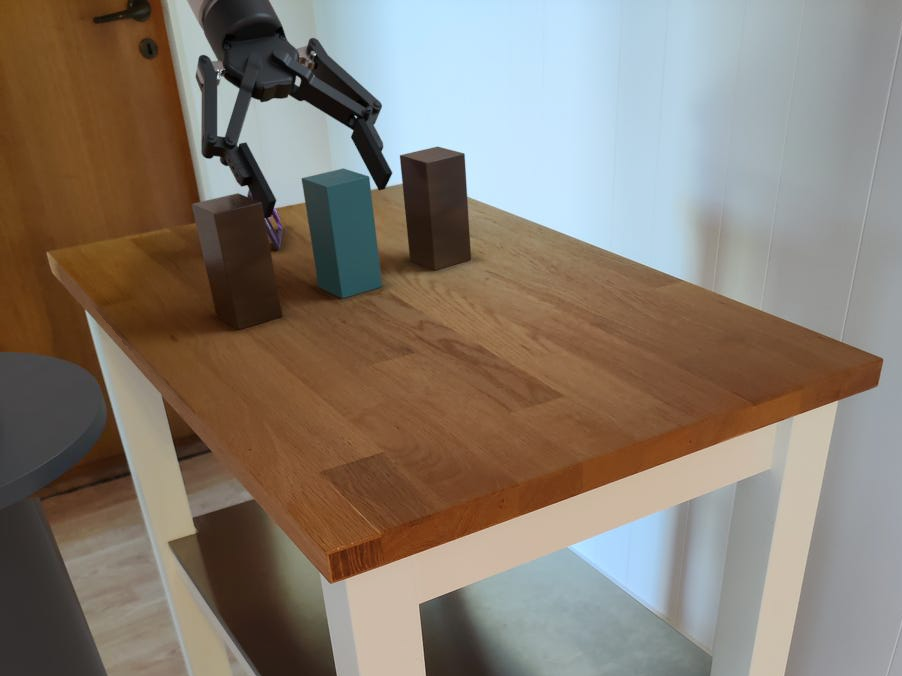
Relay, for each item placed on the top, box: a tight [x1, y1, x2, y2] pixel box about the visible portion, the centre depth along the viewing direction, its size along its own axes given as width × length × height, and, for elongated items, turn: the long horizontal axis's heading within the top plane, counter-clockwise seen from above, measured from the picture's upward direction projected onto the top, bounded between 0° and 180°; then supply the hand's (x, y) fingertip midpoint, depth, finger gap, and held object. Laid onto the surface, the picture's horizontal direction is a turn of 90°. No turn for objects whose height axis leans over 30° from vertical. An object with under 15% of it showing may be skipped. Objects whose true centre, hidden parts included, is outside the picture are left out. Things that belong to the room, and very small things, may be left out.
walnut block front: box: [191, 192, 283, 330], centre depth 98 cm, size 5×5×11 cm
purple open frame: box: [246, 189, 284, 251], centre depth 120 cm, size 7×5×9 cm
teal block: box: [301, 168, 383, 299], centre depth 103 cm, size 5×5×11 cm
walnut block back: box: [399, 146, 472, 271], centre depth 108 cm, size 5×5×11 cm
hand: (329, 195), depth 101 cm, fingers open, 13 cm apart
